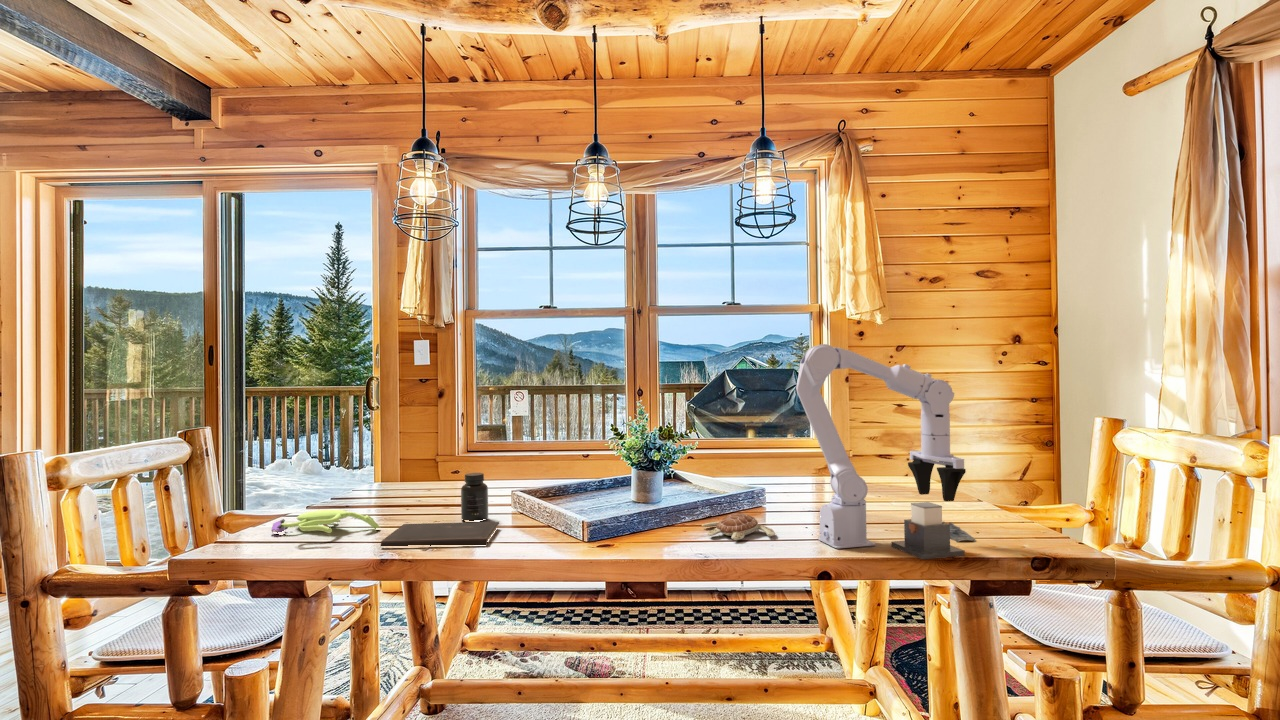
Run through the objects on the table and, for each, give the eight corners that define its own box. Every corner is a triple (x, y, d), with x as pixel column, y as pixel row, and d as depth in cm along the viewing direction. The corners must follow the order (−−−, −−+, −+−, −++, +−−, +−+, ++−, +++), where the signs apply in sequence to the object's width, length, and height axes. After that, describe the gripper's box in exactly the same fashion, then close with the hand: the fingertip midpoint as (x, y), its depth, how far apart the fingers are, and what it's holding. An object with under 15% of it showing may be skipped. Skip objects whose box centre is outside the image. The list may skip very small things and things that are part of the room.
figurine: (311, 551, 141) (311, 526, 141) (257, 533, 157) (257, 510, 157) (388, 534, 156) (388, 510, 156) (332, 519, 172) (332, 498, 172)
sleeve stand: (922, 559, 129) (921, 529, 129) (891, 546, 138) (890, 518, 138) (964, 555, 131) (964, 525, 131) (931, 542, 141) (930, 515, 141)
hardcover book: (403, 533, 157) (403, 523, 157) (499, 531, 158) (499, 521, 158) (380, 551, 141) (380, 541, 141) (486, 549, 142) (486, 538, 142)
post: (925, 549, 132) (924, 507, 132) (911, 543, 136) (910, 503, 136) (943, 547, 133) (942, 505, 133) (928, 542, 137) (928, 501, 137)
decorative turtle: (787, 532, 153) (787, 511, 153) (759, 549, 139) (759, 525, 139) (719, 523, 163) (719, 503, 163) (686, 537, 149) (686, 515, 149)
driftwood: (978, 545, 140) (978, 535, 140) (945, 544, 141) (945, 535, 141) (949, 524, 161) (948, 515, 161) (920, 523, 162) (920, 515, 162)
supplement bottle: (460, 518, 170) (460, 472, 170) (487, 516, 172) (486, 471, 172) (461, 524, 163) (461, 476, 164) (489, 521, 165) (488, 475, 166)
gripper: (976, 437, 134) (977, 503, 133) (928, 430, 148) (928, 490, 147) (947, 438, 132) (948, 504, 132) (901, 431, 146) (902, 492, 146)
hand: (936, 497), depth 139 cm, fingers open, 7 cm apart
